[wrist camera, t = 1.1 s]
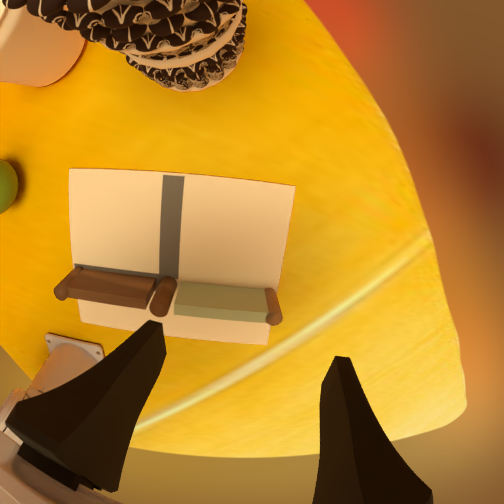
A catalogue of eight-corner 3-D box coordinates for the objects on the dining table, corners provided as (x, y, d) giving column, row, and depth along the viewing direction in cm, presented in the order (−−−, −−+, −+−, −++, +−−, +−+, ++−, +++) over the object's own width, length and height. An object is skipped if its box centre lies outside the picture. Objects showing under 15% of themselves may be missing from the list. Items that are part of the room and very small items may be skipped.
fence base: (177, 292, 27) (168, 318, 23) (75, 278, 26) (55, 300, 22) (177, 276, 27) (168, 301, 23) (73, 264, 26) (52, 284, 21)
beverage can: (33, 103, 20) (-56, 101, 9) (17, 46, 17) (-59, 27, 6) (99, 54, 19) (21, 16, 8) (79, -2, 17) (13, -49, 5)
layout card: (266, 341, 30) (266, 345, 30) (83, 319, 28) (81, 322, 28) (294, 185, 25) (295, 186, 24) (71, 168, 23) (68, 168, 22)
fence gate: (180, 292, 27) (173, 316, 23) (181, 279, 27) (173, 301, 23) (274, 301, 28) (280, 326, 24) (277, 288, 27) (283, 311, 24)
